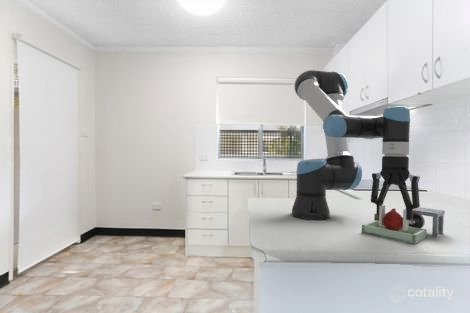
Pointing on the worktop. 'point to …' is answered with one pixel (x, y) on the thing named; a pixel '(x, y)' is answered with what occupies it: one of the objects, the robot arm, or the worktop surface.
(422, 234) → the tray
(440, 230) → the caster wheel
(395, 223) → the onion
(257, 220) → the worktop surface
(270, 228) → the worktop surface
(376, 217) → the block
